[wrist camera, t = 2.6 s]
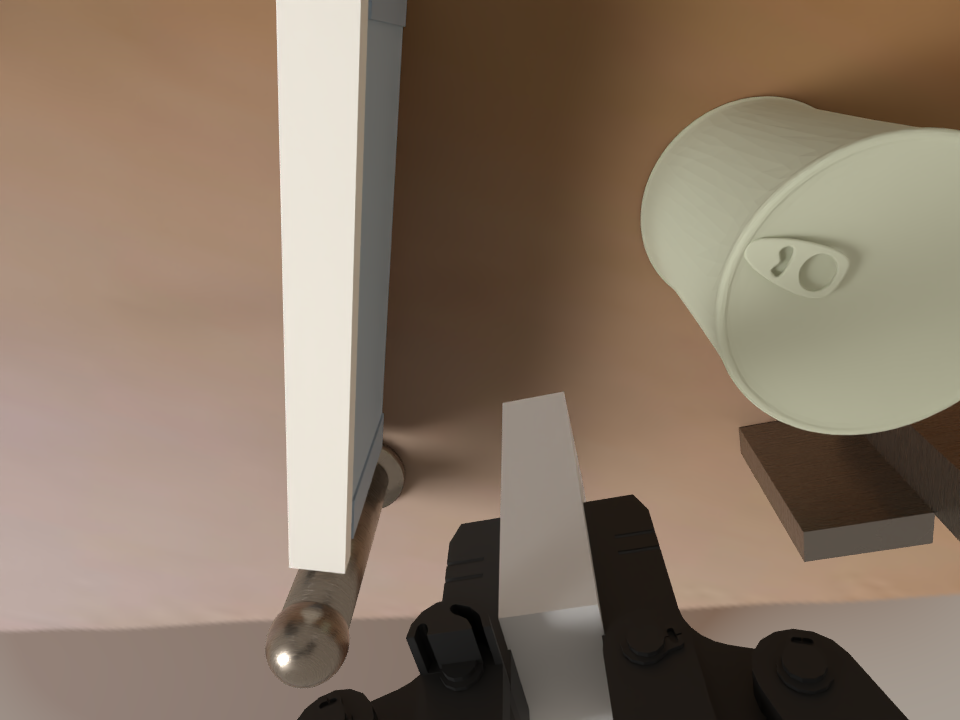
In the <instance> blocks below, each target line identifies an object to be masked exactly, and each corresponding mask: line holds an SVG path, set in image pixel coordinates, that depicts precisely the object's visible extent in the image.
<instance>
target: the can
mask: <svg viewBox="0 0 960 720" xmlns="http://www.w3.org/2000/svg"><path fill="white" fill-rule="evenodd" d="M641 232H642V239H643V243H644V247H645V250H646V252H647V255H648V257H649V260H650V262H651V263H652V265H653V267H654V268H655V270H656V271H657V273H658V274H659V275H660V277H661V278H662V279H663V280H664V281H665V282H666V283H667V284H668V285H669V286H670V287H672V288H673V289H674V290H675V291H676V293H677V294H678V295H679V297H680V298H681V300H682V301H683V302H684V304H685V305H686V307H687V308H688V309H689V311H690V312H691V314H692V315H693V317H694V318H695V319H696V321H697V322H698V324H699V325H700V327H701V328H702V330H703V331H704V333H705V334H706V336H707V337H708V339H709V340H710V342H711V343H712V345H713V346H714V348H715V349H716V351H717V352H718V354H719V355H720V357H721V359H722V360H723V363H724V365H725V367H726V369H727V372H728V373H729V375H730V377H731V378H732V380H733V382H734V383H735V384H736V386H737V387H738V388H739V390H740V391H741V392H742V393H743V394H744V395H745V396H746V397H747V398H748V399H749V400H750V401H751V402H752V403H753V404H754V405H756V406H757V407H758V408H759V409H761V410H762V411H764V412H765V413H767V414H768V415H770V416H771V417H773V418H775V419H777V420H779V421H781V422H783V423H786V424H788V425H791V426H793V427H796V428H799V429H803V430H807V431H811V432H817V433H823V434H831V435H859V434H870V433H876V432H882V431H887V430H892V429H896V428H899V427H902V426H906V425H909V424H912V423H915V422H918V421H920V420H923V419H925V418H928V417H930V416H932V415H934V414H936V413H938V412H940V411H942V410H944V409H947V408H948V407H950V406H952V405H953V404H955V403H957V402H958V401H960V130H955V129H947V128H933V127H923V128H920V127H914V126H908V125H902V124H896V123H890V122H884V121H877V120H872V119H866V118H861V117H856V116H851V115H845V114H840V113H835V112H830V111H824V110H819V109H815V108H813V107H811V106H809V105H807V104H805V103H802V102H799V101H796V100H793V99H788V98H782V97H773V96H762V97H751V98H745V99H740V100H737V101H733V102H730V103H727V104H724V105H722V106H720V107H717V108H715V109H713V110H711V111H709V112H707V113H706V114H704V115H702V116H701V117H699V118H698V119H696V120H695V121H693V122H692V123H691V124H690V125H688V126H687V127H686V128H685V129H684V130H682V131H681V132H680V133H679V134H678V135H677V136H676V137H675V138H674V139H673V141H672V142H671V143H670V144H669V145H668V146H667V148H666V149H665V150H664V152H663V153H662V154H661V156H660V158H659V159H658V161H657V163H656V164H655V166H654V168H653V170H652V172H651V174H650V177H649V179H648V182H647V185H646V187H645V191H644V195H643V199H642V206H641Z"/></svg>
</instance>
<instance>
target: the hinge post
mask: <svg viewBox="0 0 960 720" xmlns="http://www.w3.org/2000/svg"><path fill="white" fill-rule="evenodd" d="M404 479H405V469H404V465H403V463H402V461H401V459H400V457H399V456H398V455H397V454H396V452H394V451H393V450H392V449H391V448H390V447H388V446H387V445H385V444H383V443H382V449H381V452H380V455H379V458H378V461H377V465H376V468H375V471H374V474H373V477H372V481H371V484H370V487H369V490H368V493H367V497H366V500H365V503H364V506H363V509H362V513H361V516H360V519H359V522H358V525H357V528H356V532H355V535H354V538H353V539H351V554H350V559H349V562H348V565H347V569H346V572H345V574H342V573H333V572H324V571H315V570H306V569H299V570H298V572H297V575H296V577H295V580H294V582H293V585H292V587H291V590H290V592H289V595H288V597H287V600H286V602H285V605H284V607H283V610H282V612H281V613H280V614H279V615H278V616H277V617H276V618H275V620H274V621H273V623H272V625H271V627H270V628H269V631H268V634H267V638H266V644H265V654H266V659H267V662H268V665H269V668H270V669H271V671H272V672H273V674H274V675H275V676H276V677H277V678H278V679H279V680H280V681H281V682H283V683H284V684H286V685H288V686H291V687H295V688H311V687H315V686H318V685H320V684H323V683H324V682H326V681H328V680H329V679H330V678H332V677H333V675H334V674H336V673H337V672H338V670H339V669H340V667H341V666H342V664H343V663H344V661H345V659H346V656H347V653H348V649H349V642H350V635H349V626H350V623H351V620H352V616H353V612H354V609H355V605H356V601H357V597H358V594H359V590H360V586H361V583H362V579H363V575H364V572H365V568H366V564H367V561H368V557H369V553H370V550H371V546H372V542H373V539H374V535H375V531H376V528H377V524H378V520H379V517H380V513H381V509H382V508H384V507H386V506H388V505H390V504H391V503H393V502H394V501H395V500H396V499H397V498H398V497H399V495H400V493H401V491H402V488H403V484H404Z"/></svg>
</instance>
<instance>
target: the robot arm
mask: <svg viewBox="0 0 960 720" xmlns="http://www.w3.org/2000/svg"><path fill="white" fill-rule="evenodd" d="M447 565H448V567H447V568H446V576H445V581H446V583H445V584H444V592H443V600H442V601H441V602H438V603H435V604H434V605H432V606H431V607H429V608H428V609H426V610H424V611H423V612H422V613H421V614H420V615H419V616H418V617H417V618H416V620H415V621H414V622H413V623H412V624H411V627H410V629H409V632H408V634H407V637H406V639H407V642H408V644H409V646H410V649H411V652H412V654H413V657H414V659H415V662H416V664H417V667H418V669H419V672H420V675H419V676H418V677H417V678H415V679H414V680H413V681H412V682H411V683H409V684H407V685H405V686H404V687H402V688H400V689H398V690H396V691H394V692H391V693H389V694H387V695H385V696H382V697H380V698H378V699H376V700H373V701H371V702H370V701H369V700H368V699H367V697H366V696H365V695H364V694H363V693H361V692H357V691H355V690H352V689H346V690H335V691H333V692H331V693H328V694H326V695H324V696H322V697H320V698H318V699H317V700H316V701H315V702H313V703H312V704H311V705H310V706H308V707H307V708H306V709H305V710H304V711H303V713H302V714H301V716H300V717H299V718H298V719H297V720H908V719H907V717H906V716H905V715H904V714H903V713H902V712H901V711H900V710H899V709H898V707H897V706H896V705H895V704H894V703H893V702H892V701H891V700H890V699H889V698H888V696H887V695H886V694H885V693H884V692H883V691H882V690H881V689H880V687H878V685H877V684H876V683H875V682H874V681H873V680H872V679H871V677H870V676H869V675H868V674H867V673H866V672H865V671H864V670H863V669H862V667H861V666H860V665H859V664H858V663H857V662H856V661H855V660H854V659H853V657H851V655H850V654H849V653H848V652H846V651H845V650H844V649H843V648H842V647H840V646H839V645H838V644H837V643H835V642H834V641H833V640H831V639H829V638H827V637H824V636H822V635H819V634H817V633H815V632H811V631H804V630H797V629H790V630H783V631H778V632H774V633H772V634H771V635H769V636H767V637H765V638H764V639H762V640H760V642H759V643H758V645H757V647H756V648H755V649H753V648H745V647H739V646H733V645H727V644H723V643H719V642H715V641H713V640H711V639H708V638H706V637H704V636H702V635H700V634H699V633H697V631H695V630H694V629H692V628H691V627H690V626H689V625H688V623H687V622H686V621H685V620H684V619H683V617H682V615H681V613H680V611H679V609H678V606H677V602H676V599H675V596H674V592H673V589H672V586H671V582H670V579H669V576H668V573H667V569H666V566H665V563H664V559H663V556H662V553H661V550H660V547H659V543H658V540H657V536H656V533H655V530H654V527H653V523H652V520H651V517H650V513H649V510H648V509H647V508H646V507H645V506H644V505H643V504H642V503H641V502H640V501H639V500H638V499H637V498H636V497H635V496H634V495H627V496H620V497H614V498H608V499H602V500H596V501H590V502H586V498H585V492H584V487H583V481H582V476H581V471H580V467H579V462H578V457H577V452H576V447H575V443H574V438H573V433H572V428H571V423H570V419H569V414H568V409H567V404H566V399H565V395H564V392H559V393H553V394H548V395H543V396H537V397H532V398H527V399H521V400H516V401H511V402H505V403H503V413H502V463H501V512H500V518H496V519H490V520H484V521H477V522H471V523H465V524H461V526H460V527H459V529H458V530H457V532H456V534H455V535H454V537H453V538H452V540H451V541H450V543H449V552H448V560H447Z"/></svg>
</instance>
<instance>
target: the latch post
mask: <svg viewBox="0 0 960 720" xmlns="http://www.w3.org/2000/svg"><path fill="white" fill-rule="evenodd" d="M739 433H740V446H741V454H742V456H743V457H744V459H745V461H746V462H747V464H748V466H749V468H750V469H751V471H752V473H753V474H754V476H755V478H756V480H757V481H758V483H759V485H760V486H761V488H762V490H763V492H764V493H765V495H766V497H767V498H768V500H769V502H770V504H771V505H772V507H773V509H774V510H775V512H776V514H777V516H778V517H779V519H780V521H781V523H782V524H783V526H784V528H785V529H786V531H787V533H788V535H789V536H790V538H791V540H792V541H793V543H794V545H795V547H796V548H797V550H798V552H799V553H800V555H801V557H802V559H803V560H804V562H807V561H814V560H820V559H827V558H834V557H841V556H848V555H855V554H861V553H868V552H875V551H882V550H889V549H896V548H903V547H909V546H916V545H923V544H930V543H933V530H934V518H935V515H936V516H937V517H938V518H939V519H940V521H941V522H942V523H943V524H944V525H945V526H946V527H947V528H948V529H949V530H950V531H951V532H952V534H953V535H954V536H955V537H956V538H957V539H958V540H959V541H960V401H958V402H957V403H955V404H953V405H952V406H950V407H948V408H947V409H944V410H942V411H940V412H938V413H936V414H934V415H932V416H930V417H928V418H925V419H923V420H920V421H918V422H915V423H912V424H909V425H906V426H902V427H899V428H896V429H892V430H887V431H882V432H876V433H870V434H859V435H831V434H823V433H817V432H811V431H807V430H803V429H799V428H796V427H793V426H791V425H788V424H786V423H783V422H781V421H775V422H769V423H764V424H758V425H752V426H746V427H741V428H739Z"/></svg>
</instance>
